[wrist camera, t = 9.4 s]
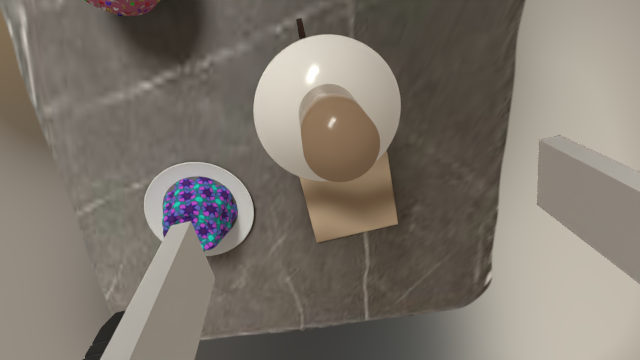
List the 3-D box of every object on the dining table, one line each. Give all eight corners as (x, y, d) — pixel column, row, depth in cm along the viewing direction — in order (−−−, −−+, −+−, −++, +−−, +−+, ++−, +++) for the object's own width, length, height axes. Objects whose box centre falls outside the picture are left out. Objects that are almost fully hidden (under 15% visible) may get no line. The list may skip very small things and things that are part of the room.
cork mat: (296, 166, 42) (297, 167, 41) (385, 145, 42) (386, 147, 41) (316, 240, 46) (316, 242, 46) (397, 222, 46) (397, 223, 45)
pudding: (209, 269, 47) (200, 299, 42) (124, 211, 43) (103, 236, 38) (276, 206, 44) (274, 230, 39) (191, 137, 40) (178, 154, 35)
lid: (235, 53, 27) (215, 71, 19) (385, 17, 27) (427, 20, 19) (275, 188, 32) (272, 247, 24) (404, 158, 32) (444, 207, 24)
